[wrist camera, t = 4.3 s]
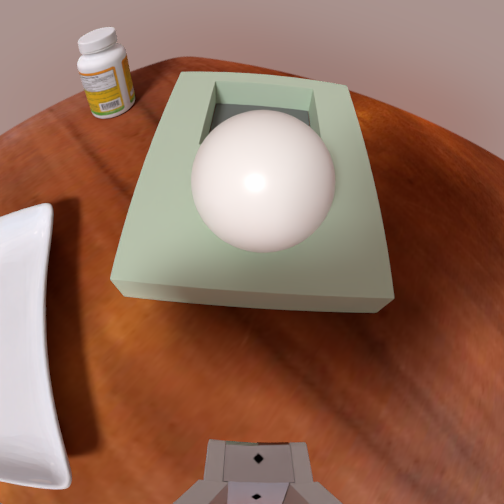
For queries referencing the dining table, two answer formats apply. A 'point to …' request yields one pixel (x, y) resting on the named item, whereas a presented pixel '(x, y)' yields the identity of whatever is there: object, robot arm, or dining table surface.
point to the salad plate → (27, 356)
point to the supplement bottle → (105, 73)
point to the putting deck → (237, 260)
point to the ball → (263, 181)
